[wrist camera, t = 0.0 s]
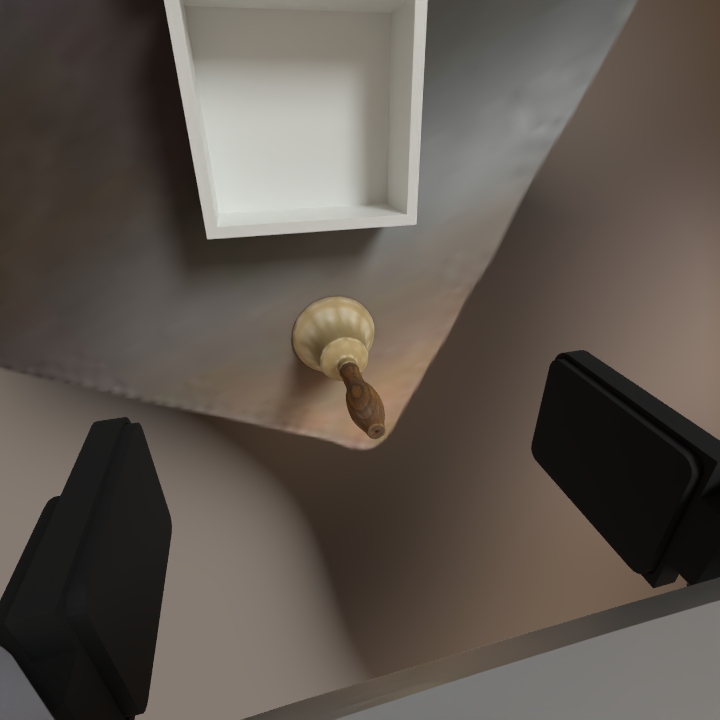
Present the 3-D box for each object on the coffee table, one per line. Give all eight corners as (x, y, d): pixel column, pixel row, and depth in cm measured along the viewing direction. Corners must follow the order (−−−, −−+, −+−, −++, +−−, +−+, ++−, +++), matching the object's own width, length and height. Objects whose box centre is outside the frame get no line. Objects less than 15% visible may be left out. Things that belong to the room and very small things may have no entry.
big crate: (170, -7, 29) (157, -33, 24) (397, 2, 32) (428, -19, 27) (210, 221, 36) (207, 239, 31) (392, 210, 39) (416, 224, 34)
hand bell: (281, 362, 44) (304, 473, 30) (307, 285, 41) (344, 371, 27) (357, 378, 47) (407, 484, 34) (386, 308, 44) (454, 394, 30)
